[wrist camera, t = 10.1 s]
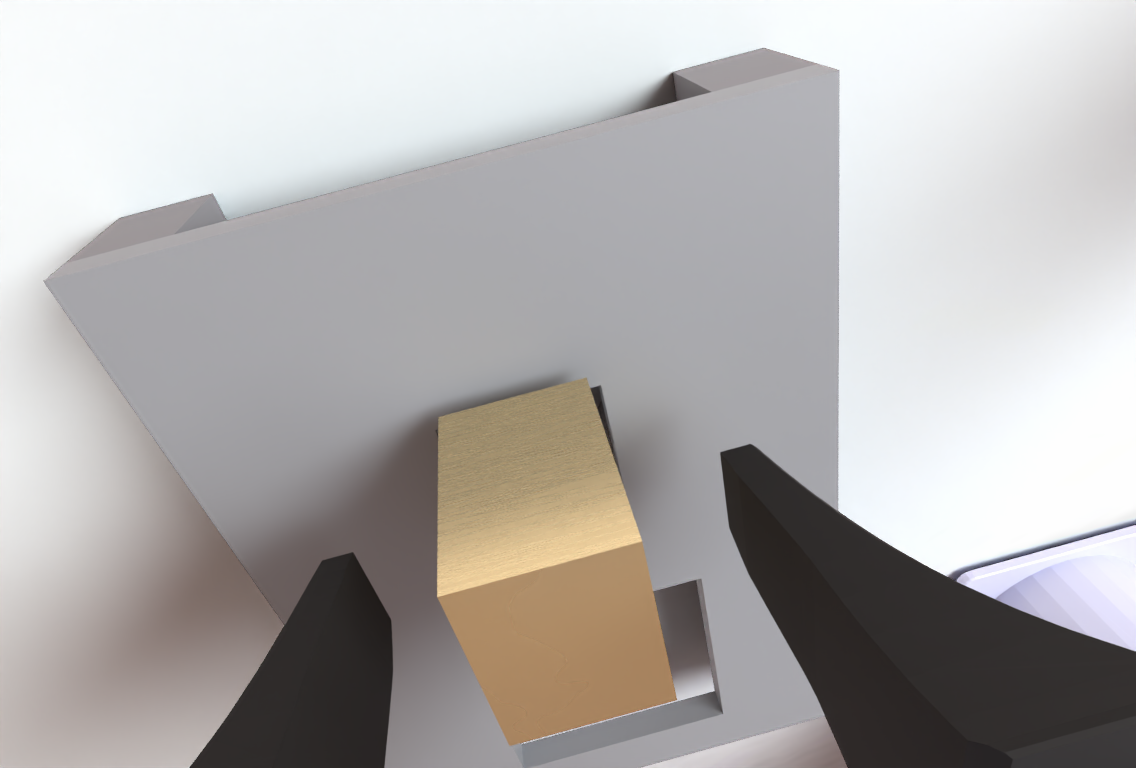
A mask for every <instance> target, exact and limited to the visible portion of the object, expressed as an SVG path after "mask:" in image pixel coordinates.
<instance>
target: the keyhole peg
mask: <svg viewBox="0 0 1136 768" xmlns="http://www.w3.org/2000/svg"><path fill="white" fill-rule="evenodd" d="M607 428H608V425H607V420H606V416H605V412H604V407H603V403H602V399H601V394H600V390H599V386H596V387H593V388H590V386H589V383H588V380H587V378H583V379H579V380H575V381H571V382H568V383H564V384H560V385H556V386H553V387H549V388H545V389H542V390H538V391H534V392H530V393H527V394H523V395H519V396H515V397H512V398H508V399H504V400H500V401H497V402H493V403H489V404H486V405H482V406H478V407H474V408H471V409H467V410H463V411H459V412H456V413H452V414H448V415H445V416H441V417H438V551H437V598H438V600H439V602H440V604H441V606H442V608H443V610H444V612H445V614H446V616H447V618H448V620H449V622H450V625H451V627H452V629H453V631H454V633H455V635H456V637H457V639H458V641H459V643H460V645H461V647H462V649H463V651H464V653H465V655H466V657H467V660H468V662H469V664H470V666H471V668H472V670H473V672H474V674H475V676H476V678H477V680H478V682H479V684H480V686H481V688H482V690H483V692H484V694H485V697H486V699H487V701H488V703H489V705H490V707H491V709H492V711H493V713H494V715H495V717H496V719H497V721H498V723H499V725H500V727H501V729H502V732H503V734H504V736H505V738H506V740H507V742H508V744H509V746H512V745H515V744H519V743H523V742H526V741H530V740H534V739H537V738H541V737H544V736H548V735H552V734H555V733H559V732H563V731H566V730H570V729H573V728H577V727H581V726H584V725H588V724H592V723H595V722H599V721H603V720H606V719H610V718H613V717H617V716H621V715H624V714H628V713H632V712H635V711H639V710H642V709H646V708H650V707H653V706H657V705H661V704H664V703H668V702H671V701H675V700H677V698H676V693H675V688H674V684H673V679H672V675H671V670H670V666H669V661H668V657H667V652H666V647H665V643H664V638H663V634H662V629H661V625H660V620H659V615H658V611H657V606H656V602H655V597H654V593H653V588H652V583H651V579H650V574H649V570H648V565H647V561H646V556H645V552H644V547H643V542H642V539H641V536H640V533H639V530H638V527H637V524H636V521H635V519H634V516H633V513H632V510H631V507H630V504H629V501H628V498H627V495H626V492H625V489H624V486H623V483H622V480H621V477H620V474H619V472H618V469H617V466H616V463H615V460H614V457H613V454H612V451H611V448H610V445H609V442H608V439H607V436H606V433H605V431H606V430H607Z"/></svg>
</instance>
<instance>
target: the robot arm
mask: <svg viewBox="0 0 1136 768" xmlns="http://www.w3.org/2000/svg"><path fill="white" fill-rule="evenodd" d="M720 457H721V465H722V473H723V482H724V490H725V498H726V507H727V515H728V523H729V529H730V531H731V534H732V536H733V538H734V541H735V543H736V546H737V548H738V551H739V553H740V555H741V558H742V560H743V562H744V565H745V567H746V569H747V572H748V574H749V576H750V578H751V580H752V581H753V583H754V585H755V587H756V589H757V590H758V592H759V594H760V596H761V597H762V599H763V601H764V603H765V605H766V606H767V608H768V610H769V612H770V614H771V615H772V617H773V619H774V621H775V622H776V624H777V626H778V628H779V629H780V631H781V633H782V635H783V636H784V638H785V640H786V642H787V644H788V645H789V647H790V649H791V651H792V652H793V654H794V656H795V658H796V659H797V661H798V663H799V665H800V667H801V668H802V670H803V672H804V674H805V675H806V677H807V679H808V681H809V683H810V685H811V687H812V689H813V691H814V693H815V695H816V697H817V699H818V701H819V703H820V706H821V708H822V710H823V712H824V715H825V717H826V719H827V721H828V724H829V726H830V728H831V730H832V733H833V735H834V737H835V739H836V741H837V744H838V746H839V748H840V750H841V753H842V755H843V757H844V760H845V762H846V764H847V767H848V768H1136V525H1134V526H1130V527H1126V528H1123V529H1119V530H1116V531H1112V532H1108V533H1105V534H1101V535H1097V536H1094V537H1090V538H1087V539H1083V540H1079V541H1076V542H1072V543H1069V544H1065V545H1061V546H1058V547H1054V548H1050V549H1047V550H1043V551H1040V552H1036V553H1032V554H1029V555H1025V556H1021V557H1018V558H1014V559H1011V560H1007V561H1003V562H1000V563H996V564H992V565H989V566H985V567H982V568H978V569H974V570H971V571H968V572H965V573H964V574H962V575H961V576H960V577H959V578H958V579H957V581H954V580H952V579H950V578H948V577H947V576H945V575H943V574H941V573H939V572H937V571H935V570H933V569H931V568H929V567H927V566H925V565H924V564H922V563H920V562H918V561H916V560H915V559H913V558H911V557H909V556H907V555H906V554H904V553H902V552H901V551H899V550H897V549H895V548H894V547H892V546H890V545H889V544H887V543H886V542H884V541H882V540H881V539H879V538H877V537H876V536H874V535H873V534H871V533H870V532H868V531H867V530H865V529H864V528H862V527H860V526H859V525H857V524H856V523H854V522H853V521H852V520H850V519H849V518H847V517H846V516H844V515H843V514H841V513H840V512H839V511H837V510H836V509H834V508H833V507H832V506H830V505H829V504H827V503H826V502H825V501H823V500H822V499H821V498H819V497H818V496H816V495H815V494H814V493H812V492H811V491H810V490H808V489H807V488H806V487H805V486H803V485H802V484H801V483H799V482H798V481H797V480H796V479H794V478H793V477H792V476H791V475H789V474H788V473H787V472H786V471H784V470H783V469H782V468H781V467H780V466H778V465H777V464H776V463H775V462H774V461H772V460H771V459H770V458H769V457H768V456H766V455H765V454H764V453H763V452H762V451H761V450H759V449H758V448H757V447H756V446H754V445H752V444H748V445H744V446H741V447H737V448H733V449H730V450H726V451H722V452H720ZM392 680H393V645H392V623H391V618H390V617H389V615H388V613H387V611H386V610H385V608H384V606H383V604H382V602H381V601H380V599H379V597H378V595H377V594H376V592H375V590H374V588H373V586H372V585H371V583H370V581H369V579H368V578H367V576H366V574H365V572H364V570H363V569H362V567H361V565H360V563H359V561H358V560H357V558H356V556H355V554H354V553H353V552H351V553H348V554H344V555H340V556H337V557H333V558H329V559H326V560H322V561H321V563H320V565H319V566H318V568H317V570H316V571H315V573H314V575H313V577H312V578H311V580H310V582H309V583H308V585H307V587H306V589H305V590H304V592H303V594H302V596H301V598H300V599H299V601H298V603H297V605H296V606H295V608H294V610H293V612H292V613H291V615H290V617H289V619H288V620H287V622H286V624H285V626H284V627H283V629H282V631H281V632H280V634H279V636H278V637H277V639H276V641H275V642H274V644H273V646H272V647H271V649H270V651H269V652H268V654H267V656H266V658H265V659H264V661H263V663H262V664H261V666H260V667H259V669H258V671H257V672H256V674H255V675H254V677H253V678H252V680H251V681H250V683H249V685H248V686H247V688H246V689H245V691H244V692H243V694H242V695H241V697H240V698H239V700H238V701H237V703H236V704H235V706H234V707H233V709H232V711H231V712H230V713H229V715H228V716H227V718H226V719H225V721H224V722H223V723H222V725H221V726H220V728H219V729H218V730H217V732H216V733H215V735H214V736H213V737H212V739H211V740H210V741H209V743H208V744H207V745H206V747H205V748H204V749H203V751H202V752H201V753H200V754H199V756H198V757H197V758H196V760H195V761H194V762H193V764H192V765H191V766H190V768H384V766H385V756H386V745H387V735H388V725H389V714H390V703H391V692H392Z"/></svg>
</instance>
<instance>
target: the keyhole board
mask: <svg viewBox="0 0 1136 768" xmlns="http://www.w3.org/2000/svg"><path fill="white" fill-rule="evenodd" d="M673 75H674V84H675V92H676V100H677V101H676V102H672V103H669V104H665V105H661V106H657V107H653V108H650V109H646V110H642V111H638V112H635V113H631V114H627V115H623V116H619V117H616V118H612V119H608V120H604V121H601V122H597V123H593V124H589V125H586V126H582V127H578V128H574V129H570V130H567V131H563V132H559V133H555V134H552V135H548V136H544V137H540V138H536V139H533V140H529V141H525V142H521V143H518V144H514V145H510V146H506V147H502V148H499V149H495V150H491V151H487V152H484V153H480V154H476V155H472V156H468V157H465V158H461V159H457V160H453V161H450V162H446V163H442V164H438V165H434V166H431V167H427V168H423V169H419V170H416V171H412V172H408V173H404V174H400V175H397V176H393V177H389V178H385V179H382V180H378V181H374V182H370V183H366V184H363V185H359V186H355V187H351V188H348V189H344V190H340V191H336V192H332V193H329V194H325V195H321V196H317V197H314V198H310V199H306V200H302V201H298V202H295V203H291V204H287V205H283V206H280V207H276V208H272V209H268V210H265V211H261V212H257V213H253V214H249V215H246V216H242V217H238V218H234V219H231V220H226V218H225V216H224V215H223V213H222V211H221V209H220V207H219V205H218V203H217V201H216V199H215V197H214V195H213V194H209V195H205V196H202V197H198V198H194V199H190V200H187V201H183V202H179V203H175V204H171V205H168V206H164V207H160V208H156V209H152V210H149V211H145V212H141V213H137V214H134V215H130V216H126V217H122V218H119V219H118V220H117V221H116V222H114V223H113V224H112V225H111V226H110V227H108V228H107V229H106V230H105V231H104V232H102V233H101V234H100V235H99V236H97V237H96V238H95V239H94V240H93V241H91V242H90V243H89V244H88V245H87V246H85V247H84V248H83V249H82V250H81V251H79V252H78V253H77V254H76V255H74V256H73V257H72V258H71V259H70V260H68V261H67V262H66V263H65V264H64V265H62V266H61V267H60V268H59V269H58V270H56V271H55V272H54V273H53V274H51V275H50V276H49V277H48V278H47V279H45V280H44V283H45V284H46V286H47V287H48V289H49V290H50V291H51V293H52V294H53V296H54V297H55V299H56V300H57V301H58V303H59V304H60V306H61V307H62V309H63V310H64V311H65V313H66V314H67V316H68V317H69V319H70V320H71V321H72V323H73V324H74V326H75V327H76V328H77V330H78V331H79V333H80V334H81V336H82V337H83V338H84V340H85V341H86V343H87V344H88V346H89V347H90V348H91V350H92V351H93V353H94V354H95V356H96V357H97V358H98V360H99V361H100V363H101V364H102V366H103V367H104V368H105V370H106V371H107V373H108V374H109V376H110V377H111V378H112V380H113V381H114V383H115V384H116V386H117V387H118V388H119V390H120V391H121V393H122V394H123V396H124V397H125V398H126V400H127V401H128V403H129V404H130V405H131V407H132V408H133V410H134V411H135V413H136V414H137V415H138V417H139V418H140V420H141V421H142V423H143V424H144V425H145V427H146V428H147V430H148V431H149V433H150V434H151V435H152V437H153V438H154V440H155V441H156V443H157V444H158V445H159V447H160V448H161V450H162V451H163V453H164V454H165V455H166V457H167V458H168V460H169V461H170V463H171V464H172V465H173V467H174V468H175V470H176V471H177V473H178V474H179V475H180V477H181V478H182V480H183V481H184V483H185V484H186V485H187V487H188V488H189V490H190V491H191V492H192V494H193V495H194V497H195V498H196V500H197V501H198V502H199V504H200V505H201V507H202V508H203V510H204V511H205V512H206V514H207V515H208V517H209V518H210V520H211V521H212V522H213V524H214V525H215V527H216V528H217V530H218V531H219V532H220V534H221V535H222V537H223V538H224V540H225V541H226V542H227V544H228V545H229V547H230V548H231V550H232V551H233V552H234V554H235V555H236V557H237V558H238V560H239V561H240V562H241V564H242V565H243V567H244V568H245V570H246V571H247V572H248V574H249V575H250V577H251V578H252V579H253V581H254V582H255V584H256V585H257V587H258V588H259V589H260V591H261V592H262V594H263V595H264V597H265V598H266V599H267V601H268V602H269V604H270V605H271V607H272V608H273V609H274V611H275V612H276V614H277V615H278V617H279V618H280V619H281V621H282V622H283V624H284V625H285V624H286V622H287V620H288V619H289V617H290V615H291V613H292V612H293V610H294V608H295V606H296V605H297V603H298V601H299V599H300V598H301V596H302V594H303V592H304V590H305V589H306V587H307V585H308V583H309V582H310V580H311V578H312V577H313V575H314V573H315V571H316V570H317V568H318V566H319V565H320V563H321V561H322V560H326V559H329V558H333V557H337V556H340V555H344V554H348V553H351V552H353V553H354V554H355V556H356V558H357V560H358V561H359V563H360V565H361V567H362V569H363V570H364V572H365V574H366V576H367V578H368V579H369V581H370V583H371V585H372V586H373V588H374V590H375V592H376V594H377V595H378V597H379V599H380V601H381V602H382V604H383V606H384V608H385V610H386V611H387V613H388V615H389V617H390V618H391V623H392V645H393V680H392V692H391V703H390V714H389V725H388V735H387V745H386V756H385V766H384V768H641V767H644V766H648V765H652V764H655V763H659V762H662V761H666V760H670V759H673V758H677V757H680V756H684V755H688V754H691V753H695V752H698V751H702V750H706V749H709V748H713V747H716V746H720V745H724V744H727V743H731V742H734V741H738V740H741V739H745V738H749V737H752V736H756V735H759V734H763V733H767V732H770V731H774V730H777V729H781V728H785V727H788V726H792V725H795V724H799V723H803V722H806V721H810V720H813V719H817V718H821V717H824V716H825V715H824V712H823V710H822V708H821V706H820V703H819V701H818V699H817V697H816V695H815V693H814V691H813V689H812V687H811V685H810V683H809V681H808V679H807V677H806V675H805V674H804V672H803V670H802V668H801V667H800V665H799V663H798V661H797V659H796V658H795V656H794V654H793V652H792V651H791V649H790V647H789V645H788V644H787V642H786V640H785V638H784V636H783V635H782V633H781V631H780V629H779V628H778V626H777V624H776V622H775V621H774V619H773V617H772V615H771V614H770V612H769V610H768V608H767V606H766V605H765V603H764V601H763V599H762V597H761V596H760V594H759V592H758V590H757V589H756V587H755V585H754V583H753V581H752V580H751V578H750V576H749V574H748V572H747V569H746V567H745V565H744V562H743V560H742V558H741V555H740V553H739V551H738V548H737V546H736V543H735V541H734V538H733V536H732V534H731V531H730V529H729V523H728V515H727V507H726V498H725V490H724V482H723V473H722V465H721V457H720V452H722V451H726V450H730V449H733V448H737V447H741V446H744V445H748V444H752V445H754V446H756V447H757V448H758V449H759V450H761V451H762V452H763V453H764V454H765V455H766V456H768V457H769V458H770V459H771V460H772V461H774V462H775V463H776V464H777V465H778V466H780V467H781V468H782V469H783V470H784V471H786V472H787V473H788V474H789V475H791V476H792V477H793V478H794V479H796V480H797V481H798V482H799V483H801V484H802V485H803V486H805V487H806V488H807V489H808V490H810V491H811V492H812V493H814V494H815V495H816V496H818V497H819V498H821V499H822V500H823V501H825V502H826V503H827V504H829V505H830V506H832V507H833V508H834V509H836V510H837V511H838V358H839V70H837V69H833V68H830V67H827V66H823V65H820V64H817V63H813V62H810V61H807V60H803V59H800V58H796V57H793V56H790V55H786V54H783V53H780V52H776V51H773V50H769V49H766V48H762V49H758V50H754V51H751V52H747V53H743V54H739V55H735V56H732V57H728V58H724V59H720V60H716V61H713V62H709V63H705V64H701V65H698V66H694V67H690V68H686V69H682V70H679V71H675V72H673ZM583 378H587V380H588V383H589V386H590V388H593V387H596V386H599V390H600V394H601V399H602V403H603V407H604V412H605V416H606V420H607V425H608V429H609V433H610V438H611V442H612V446H613V451H614V455H615V459H616V464H617V468H618V472H619V474H620V477H621V480H622V483H623V486H624V489H625V492H626V495H627V498H628V501H629V504H630V507H631V510H632V513H633V516H634V519H635V521H636V524H637V527H638V530H639V533H640V536H641V539H642V542H643V547H644V552H645V556H646V561H647V565H648V570H649V574H650V579H651V583H652V588H653V591H657V590H661V589H664V588H668V587H671V586H675V585H679V584H682V583H686V582H690V581H693V580H696V582H697V588H698V594H699V599H700V605H701V611H702V617H703V623H704V629H705V635H706V641H707V647H708V653H709V659H710V665H711V671H712V677H713V683H714V689H715V691H714V692H710V693H707V694H703V695H699V696H696V697H692V698H688V699H685V700H681V701H678V702H674V703H670V704H667V705H663V706H660V707H656V708H652V709H649V710H645V711H642V712H638V713H634V714H631V715H627V716H624V717H620V718H616V719H613V720H609V721H606V722H602V723H598V724H595V725H591V726H587V727H584V728H580V729H577V730H573V731H569V732H566V733H562V734H559V735H555V736H551V737H548V738H544V739H541V740H537V741H533V742H530V743H526V744H523V745H521V743H519V744H515V745H512V746H509V744H508V742H507V740H506V738H505V736H504V734H503V732H502V729H501V727H500V725H499V723H498V721H497V719H496V717H495V715H494V713H493V711H492V709H491V707H490V705H489V703H488V701H487V699H486V697H485V694H484V692H483V690H482V688H481V686H480V684H479V682H478V680H477V678H476V676H475V674H474V672H473V670H472V668H471V666H470V664H469V662H468V660H467V657H466V655H465V653H464V651H463V649H462V647H461V645H460V643H459V641H458V639H457V637H456V635H455V633H454V631H453V629H452V627H451V625H450V622H449V620H448V618H447V616H446V614H445V612H444V610H443V608H442V606H441V604H440V602H439V600H438V598H437V551H438V417H441V416H445V415H448V414H452V413H456V412H459V411H463V410H467V409H471V408H474V407H478V406H482V405H486V404H489V403H493V402H497V401H500V400H504V399H508V398H512V397H515V396H519V395H523V394H527V393H530V392H534V391H538V390H542V389H545V388H549V387H553V386H556V385H560V384H564V383H568V382H571V381H575V380H579V379H583Z"/></svg>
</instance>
